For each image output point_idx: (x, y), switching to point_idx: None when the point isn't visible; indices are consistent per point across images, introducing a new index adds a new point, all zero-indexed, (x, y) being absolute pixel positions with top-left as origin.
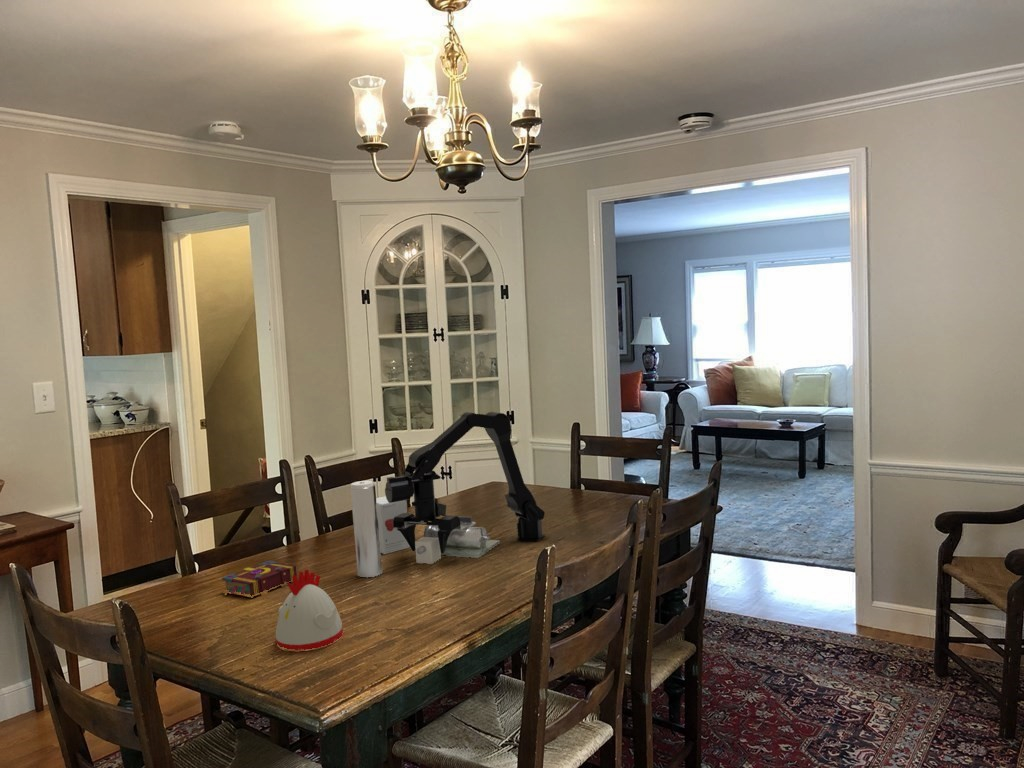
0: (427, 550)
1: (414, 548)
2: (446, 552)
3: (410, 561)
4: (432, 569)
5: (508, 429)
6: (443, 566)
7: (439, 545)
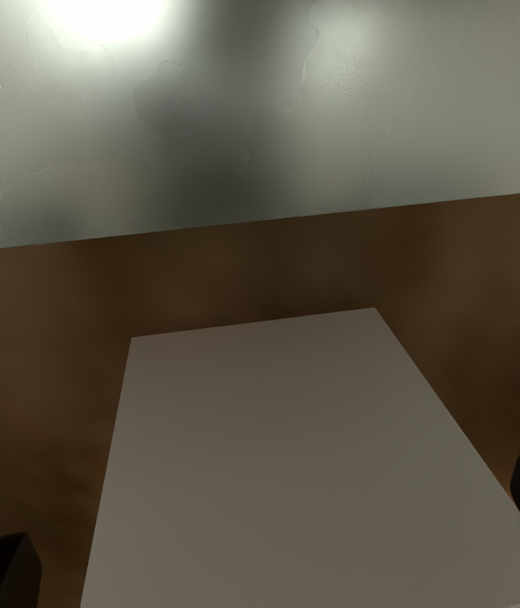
0: None
1: (23, 588)
2: (428, 202)
3: (61, 499)
4: None
5: None
6: (508, 481)
7: (465, 458)
